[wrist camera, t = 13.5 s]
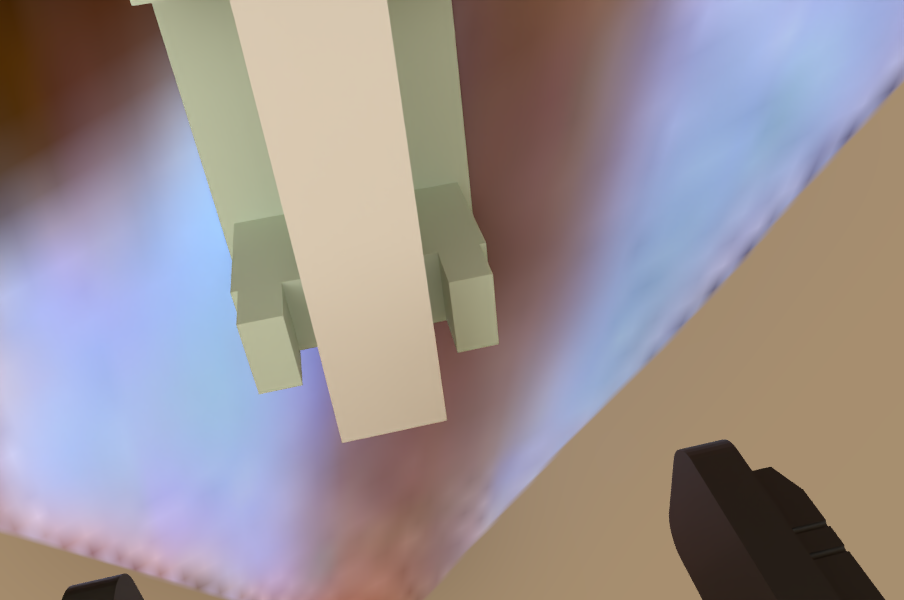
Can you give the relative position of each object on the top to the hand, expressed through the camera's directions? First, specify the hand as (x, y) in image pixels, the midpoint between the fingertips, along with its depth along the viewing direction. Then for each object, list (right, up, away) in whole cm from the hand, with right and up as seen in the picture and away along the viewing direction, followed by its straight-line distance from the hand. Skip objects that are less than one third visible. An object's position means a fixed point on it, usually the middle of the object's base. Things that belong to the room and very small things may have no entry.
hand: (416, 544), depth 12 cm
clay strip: (-3, +9, +13) cm, 16 cm away
